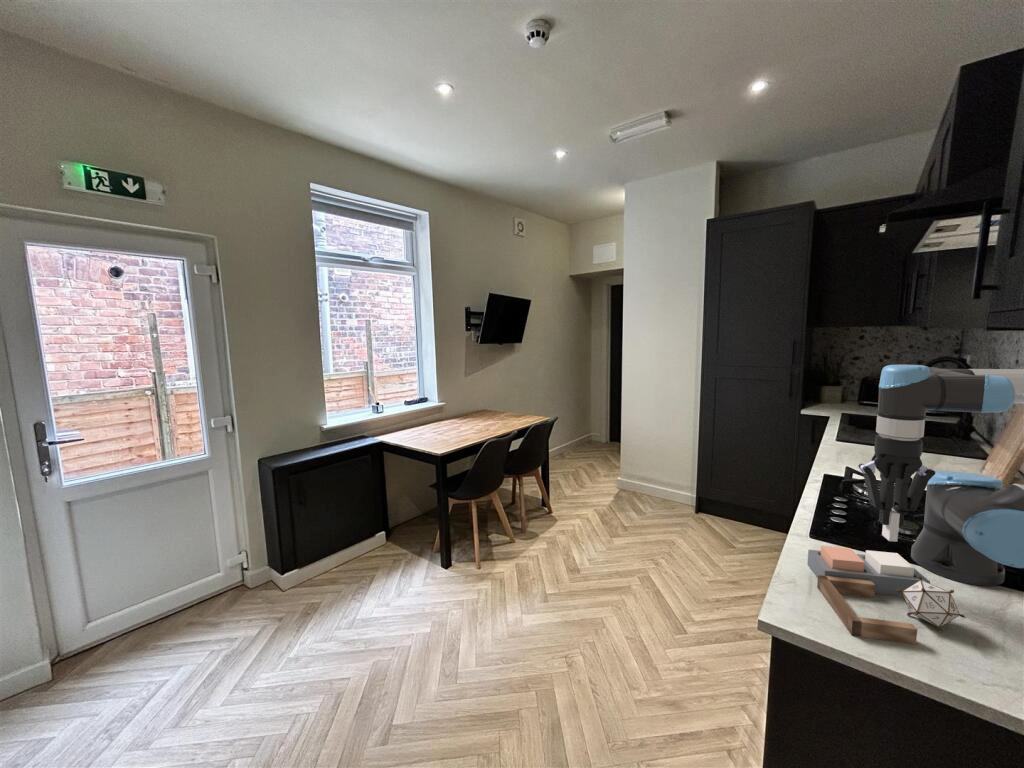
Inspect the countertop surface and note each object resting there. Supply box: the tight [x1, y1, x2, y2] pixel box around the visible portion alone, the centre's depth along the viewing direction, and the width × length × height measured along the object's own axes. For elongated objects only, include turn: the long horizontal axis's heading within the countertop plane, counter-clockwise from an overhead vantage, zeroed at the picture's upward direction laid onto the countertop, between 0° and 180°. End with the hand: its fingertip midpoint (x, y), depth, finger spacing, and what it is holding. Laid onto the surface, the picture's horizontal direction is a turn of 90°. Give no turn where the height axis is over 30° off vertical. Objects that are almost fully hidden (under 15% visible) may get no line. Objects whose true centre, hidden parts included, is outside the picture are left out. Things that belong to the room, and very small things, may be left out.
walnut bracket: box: [816, 575, 918, 645], centre depth 83 cm, size 10×15×3 cm, turn 164°
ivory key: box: [864, 549, 915, 577], centre depth 92 cm, size 6×6×3 cm
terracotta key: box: [820, 545, 865, 572], centre depth 95 cm, size 6×6×3 cm
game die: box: [896, 575, 967, 633], centre depth 80 cm, size 9×8×10 cm
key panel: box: [807, 549, 931, 597], centre depth 94 cm, size 19×9×4 cm, turn 74°
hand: (889, 538), depth 91 cm, fingers closed
